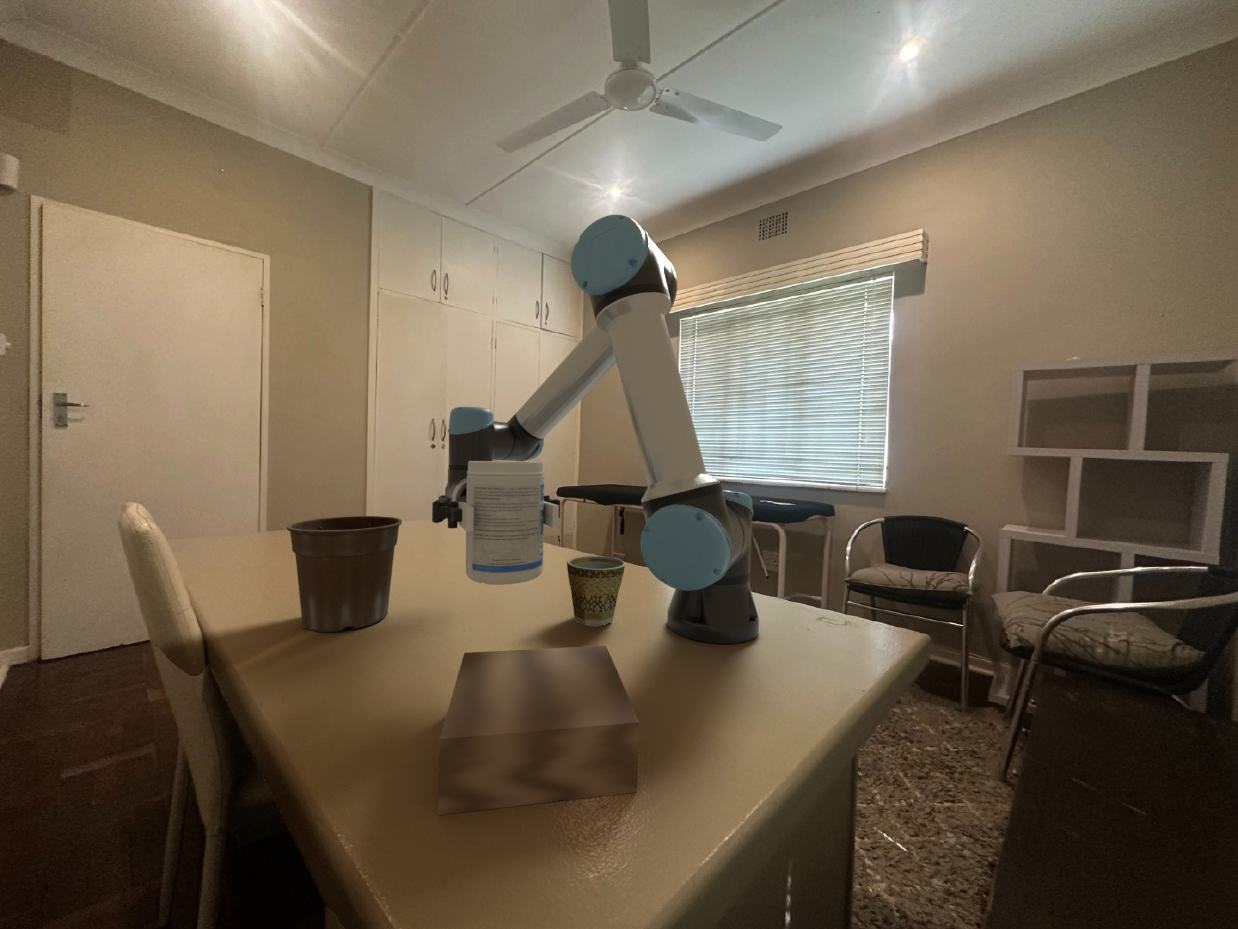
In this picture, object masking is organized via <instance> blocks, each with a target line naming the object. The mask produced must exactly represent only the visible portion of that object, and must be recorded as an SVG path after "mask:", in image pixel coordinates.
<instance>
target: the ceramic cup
mask: <svg viewBox="0 0 1238 929" xmlns="http://www.w3.org/2000/svg"><path fill="white" fill-rule="evenodd" d="M625 567H626V562H625V561H623V560H622V559H619V558H615V557H611V556H605V555H604V556H601V555H585V556H578V557H577V556H576V557H573V558H570V559H567V561H566V569H567V576H568V582H569V588H570V592H571V601H572V609H573V616H574V620H575V622H576V621H577V622H576V623H578V622H579V623H578V624H580V623H581V624H580V625H582V624H583V625H582V626H585V625H586V626H585V627H597V626H600V627H602V626H601V625H604V624H607V623H610V622H612V623H613V619H614V616H615V610H616V606H617V600H618V595H619V591H620V588H621V585H622V582H623V577H624V573H625ZM610 624H611V623H610ZM607 625H608V624H607ZM604 626H605V625H604Z"/></svg>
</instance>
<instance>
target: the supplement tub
mask: <svg viewBox="0 0 1238 929" xmlns="http://www.w3.org/2000/svg"><path fill="white" fill-rule="evenodd" d="M544 475H545V473H544V464H543V461H501V460H492V461H469V462H468V471H467V488H466V503H467V504H469V505H470V506H472V507H474V517H473V531H467V532H466V531H465V574H466V577H468V579H470V580H471V581H472V582H475V583H479V584H481V583H482V584H486V585H489V586H490V585H492V586H493V585H496V586H499V585H500V586H502V585H503V586H504V585H514V584H521V583H526V582H530V581H533V580H535V579H537V578H538V577H540V576H541V574H542V573H543V569H544V529H545V528H544V525H545V524H544V496H545V476H544Z"/></svg>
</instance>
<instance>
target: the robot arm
mask: <svg viewBox="0 0 1238 929" xmlns="http://www.w3.org/2000/svg"><path fill="white" fill-rule="evenodd" d="M570 257H571V258H570V270H571V275H572V277H573V279H574V281H575V283H576V285H578V287H579V288H580V289H581V291H583V292H584V293H587V295H588V297H589V301H590V305H591V308H592V313H593V316H594V320H595V325H594V326H593V327H592V328H591V329H590V331H588V333H587V334H585V336H584V337H583V338H582V339H581V340H580V341H579V342H578V344H576V346H575V347H574V348H573V349H572V350H571V351H570V353H568V355H567V356H566V357H565V358H564V360H562V361H561V363H559V365H557V367H556V368H555V369H554V370H553V372H552V373H550V374H549V376H547V378H546V380H544V381H543V382H542V384H541V385H540V386H539V387H538V388H537V389H536V390H535V391H534V392H533V394H532V395H531V396H530V397H529V398H528V399H527V400H526V402H524V404H523V405H522V406H521V407H520V408H519V409H518V410H517V412H516V413H514V415H512V417H511V418H509V420H508V421H507V422H504V421H495V419H494V413H493V411H492V409H489V408H487V407H479V406H478V407H477V406H458V407H457V406H456V407H454V408H453V409H451V411H450V414H449V420H448V429H447V433H448V468H447V483H446V487H445V490H444V494H443V495H442V494H441V495H440V496H438V499H436V500H434V501H433V502H432V506H431V507H432V508H431V509H432V510H431V522H432V523H434V524H439V523H441V522H442V523H443V521H445V520H446V519H447V529H458V525H459V526H460V527H461V528H462V529H463V530H464V531H465V533H466V532H467V531H473V517H474V507H472V506H470V505H469V504H467V503H466V488H467V471H468V462H469V461H517V462H527V461H531V460H534V459H536V458H537V457H538V456H540V454H541V453H542V452H543V449H544V448H543V447H544V444H545V441H544V439H545V438H546V437H547V436H548V435H549V434H550V433H551V432H552V431H553V430H554V429H555V428H556V426H558V424H560V422H561V421H562V420H563V419H564V418H565V417H566V416H567V415H568V414H569V413H570V412H572V410H573V409H574V408H575V407H576V406H577V405H578V403H579V402H581V401H582V399H583V398H585V396H586V395H587V394H588V393H589V392H591V390H592V389H593V388H594V387H595V386H596V385H597V384H598V383H599V382H600V381H601V380H602V379H603V378H604V377H605V375H607V373H609V371H611V369H612V368H614V366H615V365H616V366H617V369H618V374H619V378H620V381H621V385H622V389H623V392H624V396H625V400H626V404H627V408H628V412H629V417H630V420H631V425H632V428H633V432H634V437H635V440H636V443H637V446H638V448H637V449H638V451H639V456H640V460H641V463H642V467H643V472H644V475H645V479H646V483H647V489H646V490H645V493H644V495H643V496H642V497H641V499H640V500H641V506H642V510H643V515H644V519H645V525H644V526H643V527H644V528H643V529H642V533H641V535H640V550H641V555H642V559H643V561H644V563H645V565H646V567H647V568H648V570H649V571H650V572H651V574H652V575H653V576H654V577H655V578H656V579H657V580H658V581H660V582H662V583H663V584H665V585H666V586H668V587H670V588H673V589H674V592H673V595H672V597H671V600H670V603H669V604H668V605H669V606H668V608H667V620H666V621H667V622H666V623H667V626H668V627H669V629H670V630H671V631H672V632H675V633H676V634H677V635H680V636H682V637H685V638H687V639H689V640H693V641H694V640H695V641H697V642H699V641H700V642H703V643H704V642H705V643H710V644H711V643H712V644H723V645H724V644H725V645H727V644H741V643H745V642H749V641H752V640H753V638H754V639H755V638H756V637H758V635H759V633H758V632H759V631H760V630H759V627H760V618H759V614H758V611H757V608H756V607H757V606H756V604H755V600H754V596H753V592H752V590H751V585H750V580H751V579H750V575H751V558H752V557H751V555H752V554H751V553H752V532H753V531H752V528H753V527H752V526H753V516H754V512H755V511H754V509H753V499H752V497H751V495H749V493H748V494H747V493H746V492H745V493H744V492H740V491H731V490H723V489H722V485H721V480H719V479H717V478H716V477H714V476H713V475H711V474H709V472H707V469H706V467H705V463H704V459H703V455H702V452H701V448H700V445H699V444H700V443H699V440H698V436H697V432H696V429H695V426H694V422H693V418H692V415H691V411H690V407H689V403H688V399H687V396H686V392H685V389H684V384H683V381H682V377H681V373H680V370H679V369H680V368H679V367H678V366H679V365H678V362H677V359H676V354H675V351H674V347H673V343H672V340H671V337H670V333H669V329H668V325H667V321H666V318H667V316H668V315H669V313H670V312H671V310H672V308H673V306H674V304H675V301H676V297H677V291H678V279H677V274H676V271H675V268H674V265H673V264H672V263H671V261H670V260H669V259H668V257H666V256H665V255H664V253H663V252H662V251H661V250H660V249H659V248H658V246H657V245H656V243H654V242H653V240H652V239H651V238H650V237H649V234H648V232H647V231H646V229H645V228H644V227H643V226H642V225H641V224H639V223H638V222H636V221H635V220H634V219H633V218H631V217H629V216H626V215H623V214H609V215H605V216H603V217H600V218H598V219H596V220H595V221H593V222H591V224H589V225H588V226H587V227H586V228H585V229H584V230H583V231H582V232H581V234H580V235H579V239H578V241H577V242H576V243H575V244H574V246H573V250H572V253H571V256H570ZM560 517H561V500H560V499H556V498H555V499H552V498H551V496H550V495H544V525H546V526H548V527H551V528H559V519H560Z"/></svg>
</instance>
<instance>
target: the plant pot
mask: <svg viewBox="0 0 1238 929" xmlns="http://www.w3.org/2000/svg"><path fill="white" fill-rule="evenodd" d="M402 523H403V520H402V519H401V518H398V517H392V516H383V515H382V516H381V515H380V516H379V515H349V516H334V517H333V516H331V517H321V518H312V519H306V520H301V521H300V520H299V521H294V522H293V523H289V524H287V525H286V530H287V531H288V532H289V533H290V541H291V549H292V553H294V554H295V561H296V573H297V582H298V583H297V584H298V594H299V604H300V614H301V624H302V627H303V628H304V629H306V630H308V631H312V632H318V633H328V632H329V633H333V632H334V633H335V632H342V631H343V630H345V629H346V628H354V629H360V628H364V627H368V626H371V625H375V624H377V623H378V622H380V621H382V620H383V619H385V618H386V617H387V615H388V614H389V605H390V603H389V602H390V595H391V586H392V577H393V576H392V575H393V564H394V556H395V549H396V548H395V547H396V546H397V544H398V537H399V536H398V535H399V530H400V526H401V525H402Z"/></svg>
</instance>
